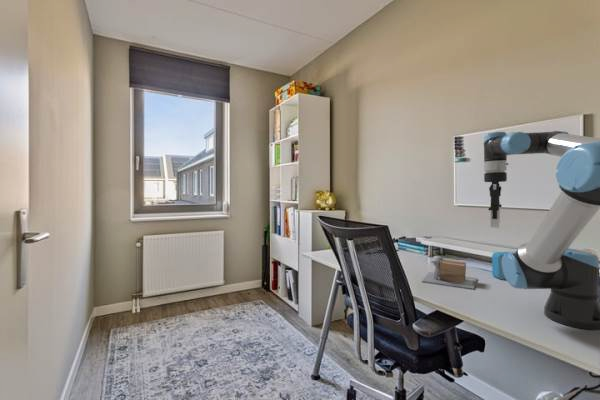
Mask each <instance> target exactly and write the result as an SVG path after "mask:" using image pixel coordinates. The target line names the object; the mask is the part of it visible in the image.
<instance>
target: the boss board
mask: <svg viewBox="0 0 600 400" xmlns="http://www.w3.org/2000/svg"><path fill="white" fill-rule="evenodd" d="M442 259H443V256H439V255H434V256H433V258H431V259H430V262H431V263H432V264H433V271H429V272H428V273H427V274H426V275H425V276H424V278H423V279H422V281H421V282H422V283H426V284H432V285H439V286H447V287H452V288H460V289H467V290H468V289H469V290H474V289H475V286H476V283H477V280H478V278H477V277H471V276H465V281H464V283H458V282H453V281H447V280H442V279H439V277H440V262H441V261H442Z"/></svg>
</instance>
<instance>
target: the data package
mask: <svg viewBox="0 0 600 400" xmlns="http://www.w3.org/2000/svg"><path fill="white" fill-rule="evenodd" d="M515 252H516V251H498V252H497V251H495V252H493V253H492V255H491V256H492V257H491V266H492V267H491V274H492V276H493V277H494V278H497V279H499V280H501V281H502V280H506V278H505V276H504V273H503V269H502V258H503V256H504V254H506V253H515Z"/></svg>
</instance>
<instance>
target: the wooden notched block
mask: <svg viewBox="0 0 600 400" xmlns="http://www.w3.org/2000/svg"><path fill="white" fill-rule="evenodd" d="M466 270H467V262H465V261H460V260H459V261H458V260H452V259H446V258H445V259H444V258H442V260H441V261H440V277H439V279H442V280H447V281H453V282H458V283H464V281H465V277H466V274H467V273H466Z"/></svg>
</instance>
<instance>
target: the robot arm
mask: <svg viewBox="0 0 600 400" xmlns="http://www.w3.org/2000/svg"><path fill="white" fill-rule="evenodd" d="M483 140H484V141H483V159H484V161H483V172H484V174H483V176H484V177H483V181H484V183H491V184H490V186H489V188H488V189H489V197H490V206H489V207H488V211H490V228H496V229H499V228H500V223H501V208H502V204H501V203H500V197H501V193H502V186H501V185H500V183H502V182H507V179H508V175H507V174H508V173H507V172H505V171H507V166H509V162H507V159H508V157H507V156H512V155H531V154H547V155H551V156H556V157H559V160H558V162H557V164H556V168H555V169H556V170H557V172H556V173H555V178H556V181H557V183H558V188H559V190H560V191H561V192H560V193H559V195H558V196H557V198H556V199H555V201H554V203H552V206H551V207H550V208H549V211H548V212H547V213H546V215H545V216H544V218H543V220H542V221H541V223H540V224H539V226H538V227H537V229H536V230H535V231H534V232H533V233H534V234H533V235H532V236H531V238H530V240H529V241H528V242H524V243H522V244H520V245H519V247H518V248H517V249H516V251H514V252H515V253H506V254H504V256H503V258H502V269H503V273H504V276H505V278H506V279H505V280H506V282H507V283H508V284H509V285H510V286H511V287H512V288H514V289H521V290H539V289H540V290H543V289H545V290H550V294H549V295H548V297H547V299H546V303H545V305H544V307H543V308H544V309H543V310H544V311H543V313H544V316H545V317H547V318H548V319H550V320H551V321H553V322H556V323H558V324H561V325H565V326H568V327H572V328H575V329H576V328H577V329H582V330H583V329H584V330H600V299H599V292H600V290H599V289H600V288H599V287H600V285H599V283H600V280H599V279H600V261H599V259H600V258H599V257H598V256H597V255H596V254H594V253H592V252H589V251H584V250H580V249H573V248H570V247H571V245H572V244H573V243H574V242H575V240H576V238H578V236H579V235H580V234H581V232H583V230H585V229H584V228H585V227H586V226H587V225H588V224H589V222H590V221H591V220H592V219H593V217H595V215H596V214H597V212H598V211H599V210H600V137H591V136H584V135H577V134H570V133H569V131H560V130H554V131H542V132H541V131H540V132H523V131H517V132H515V131H514V132H510V133H507V132H506V131H495V132H494V131H493V132H488V133H486V134H484V139H483Z"/></svg>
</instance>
